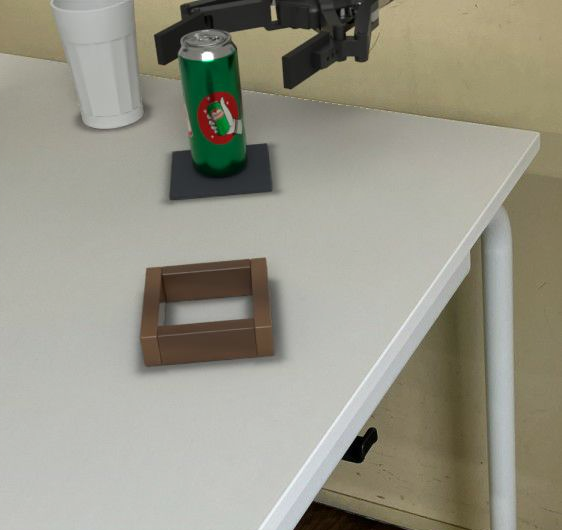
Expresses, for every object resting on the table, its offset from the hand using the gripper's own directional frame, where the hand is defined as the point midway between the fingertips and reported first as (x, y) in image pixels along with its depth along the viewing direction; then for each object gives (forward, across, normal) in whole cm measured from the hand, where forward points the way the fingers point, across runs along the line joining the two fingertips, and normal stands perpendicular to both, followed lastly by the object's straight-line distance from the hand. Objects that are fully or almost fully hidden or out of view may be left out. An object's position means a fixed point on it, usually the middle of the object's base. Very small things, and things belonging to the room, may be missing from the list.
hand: (220, 61), depth 87 cm
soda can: (+2, 0, -10) cm, 10 cm away
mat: (+2, 0, -10) cm, 10 cm away
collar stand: (+22, -13, -10) cm, 27 cm away
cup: (-4, +18, -10) cm, 21 cm away
